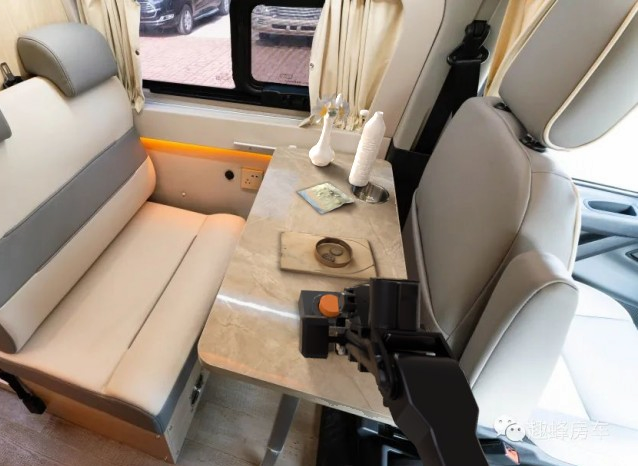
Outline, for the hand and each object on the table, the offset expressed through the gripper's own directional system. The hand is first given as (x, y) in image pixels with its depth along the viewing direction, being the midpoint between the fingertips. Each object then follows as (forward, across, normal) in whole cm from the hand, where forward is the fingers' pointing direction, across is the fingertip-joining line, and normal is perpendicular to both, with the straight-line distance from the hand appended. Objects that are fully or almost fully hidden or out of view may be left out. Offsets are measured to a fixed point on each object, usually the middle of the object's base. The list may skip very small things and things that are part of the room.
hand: (344, 327), depth 59 cm
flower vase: (+67, -10, -49) cm, 83 cm away
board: (+31, -4, -13) cm, 33 cm away
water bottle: (+57, -20, -39) cm, 72 cm away
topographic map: (+50, -8, -32) cm, 60 cm away
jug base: (+15, 0, +3) cm, 15 cm away
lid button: (+10, 0, -1) cm, 10 cm away
